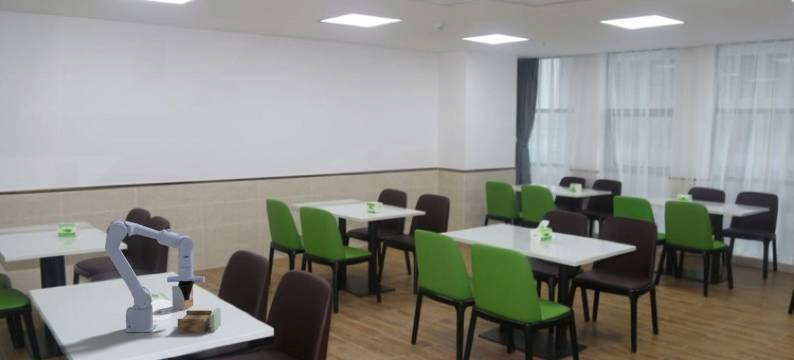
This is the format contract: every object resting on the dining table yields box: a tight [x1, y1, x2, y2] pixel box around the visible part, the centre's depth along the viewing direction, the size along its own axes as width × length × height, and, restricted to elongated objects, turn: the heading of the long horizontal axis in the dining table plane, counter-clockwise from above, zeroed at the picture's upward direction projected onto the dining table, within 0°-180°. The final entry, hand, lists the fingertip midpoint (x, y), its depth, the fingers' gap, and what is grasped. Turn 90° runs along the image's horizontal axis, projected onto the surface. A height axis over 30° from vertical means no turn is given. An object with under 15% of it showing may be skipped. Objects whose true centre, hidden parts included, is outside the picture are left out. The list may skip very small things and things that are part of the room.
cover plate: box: [210, 307, 222, 333], centre depth 259 cm, size 7×9×2 cm
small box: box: [171, 282, 194, 311], centre depth 287 cm, size 8×6×10 cm
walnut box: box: [177, 309, 213, 334], centre depth 259 cm, size 10×12×6 cm
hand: (186, 299), depth 264 cm, fingers closed
